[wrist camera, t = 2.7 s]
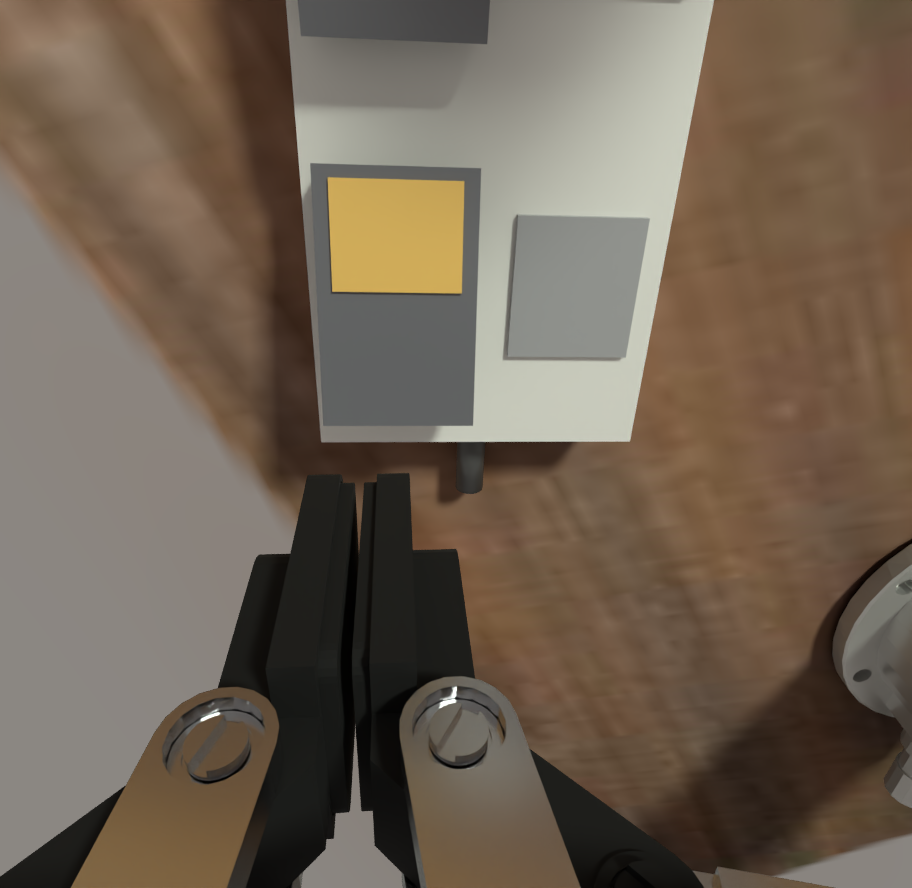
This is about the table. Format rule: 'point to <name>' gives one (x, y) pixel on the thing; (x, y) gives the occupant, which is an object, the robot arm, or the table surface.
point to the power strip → (527, 194)
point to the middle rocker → (397, 20)
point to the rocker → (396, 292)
